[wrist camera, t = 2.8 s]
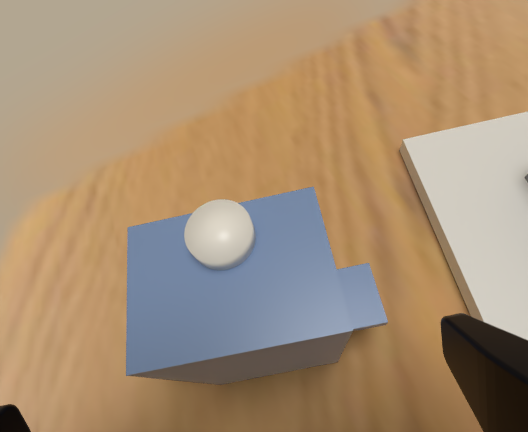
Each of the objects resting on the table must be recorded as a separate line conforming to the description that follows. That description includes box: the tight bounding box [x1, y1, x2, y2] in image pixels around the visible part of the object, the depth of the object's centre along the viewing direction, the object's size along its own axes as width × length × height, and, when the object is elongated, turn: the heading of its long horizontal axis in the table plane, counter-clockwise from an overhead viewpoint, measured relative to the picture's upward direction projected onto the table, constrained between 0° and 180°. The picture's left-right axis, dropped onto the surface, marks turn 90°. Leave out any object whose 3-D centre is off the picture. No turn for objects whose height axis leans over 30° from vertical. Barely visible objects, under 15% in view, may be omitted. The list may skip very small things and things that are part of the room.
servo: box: [126, 187, 388, 385], centre depth 13 cm, size 10×4×10 cm, turn 99°
